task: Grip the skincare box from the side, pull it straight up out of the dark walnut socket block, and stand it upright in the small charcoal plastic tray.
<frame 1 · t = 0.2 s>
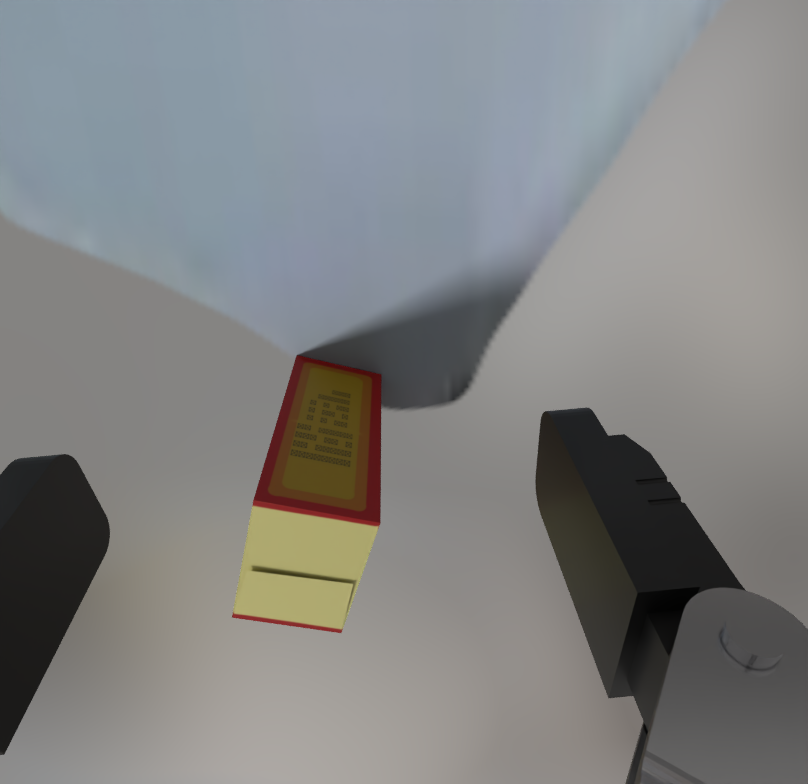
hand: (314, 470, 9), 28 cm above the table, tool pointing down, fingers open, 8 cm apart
baking soda box: (327, 413, 43), on the table
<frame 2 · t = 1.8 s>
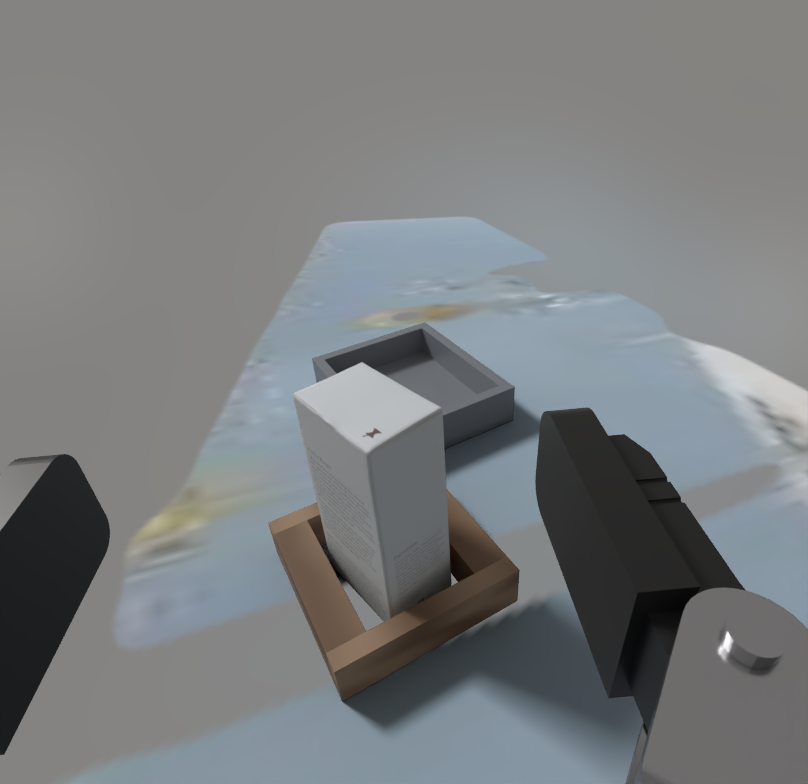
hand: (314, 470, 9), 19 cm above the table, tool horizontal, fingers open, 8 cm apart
tray: (409, 402, 44), on the table
skincare box: (389, 577, 30), resting in socket block
socket block: (389, 574, 30), on the table
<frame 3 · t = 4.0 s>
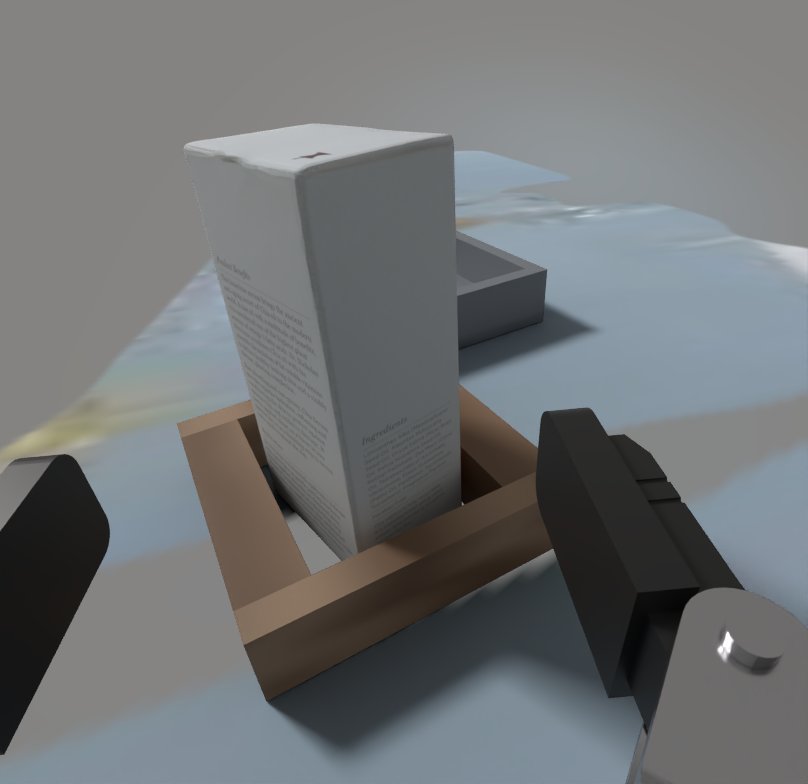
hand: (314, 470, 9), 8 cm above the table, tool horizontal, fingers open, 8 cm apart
tray: (402, 306, 33), on the table
skincare box: (364, 508, 19), resting in socket block
socket block: (363, 503, 19), on the table
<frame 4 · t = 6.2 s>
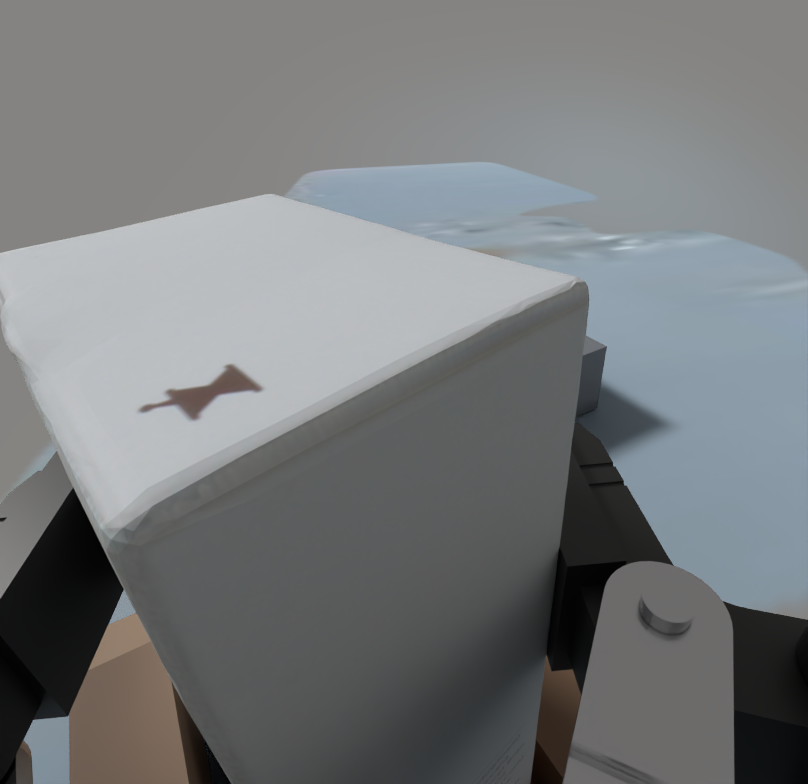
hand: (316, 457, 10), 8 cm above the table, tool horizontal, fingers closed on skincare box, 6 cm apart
tray: (410, 380, 26), on the table
skincare box: (363, 783, 12), resting in socket block, touching gripper
socket block: (362, 779, 12), on the table
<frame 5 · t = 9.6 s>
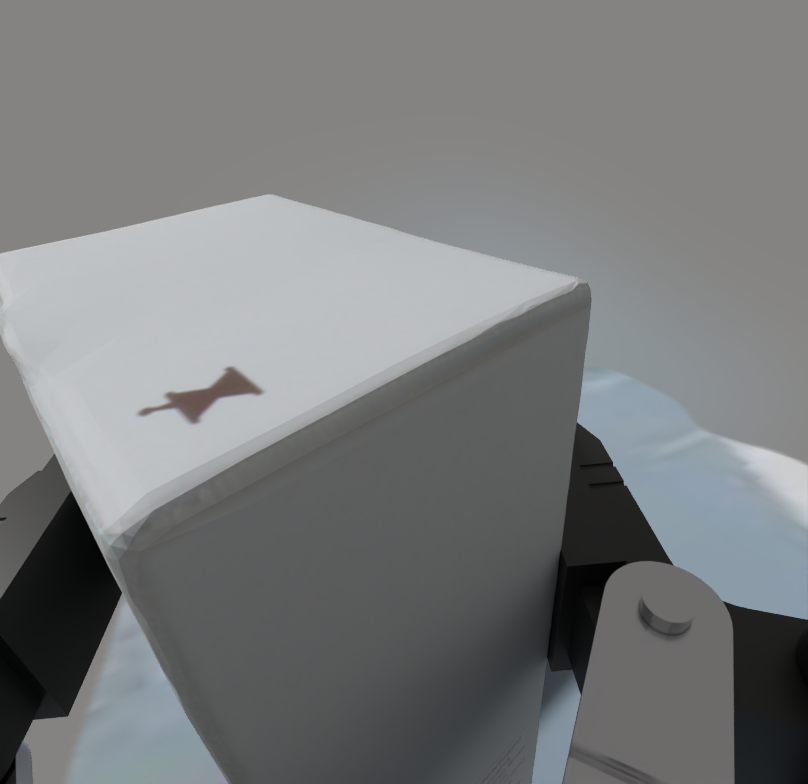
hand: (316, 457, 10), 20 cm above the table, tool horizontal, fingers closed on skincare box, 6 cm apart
when the fingers open (9 cm above the table, at t = 13.0 s): skincare box drops 1 cm, resting on tray.
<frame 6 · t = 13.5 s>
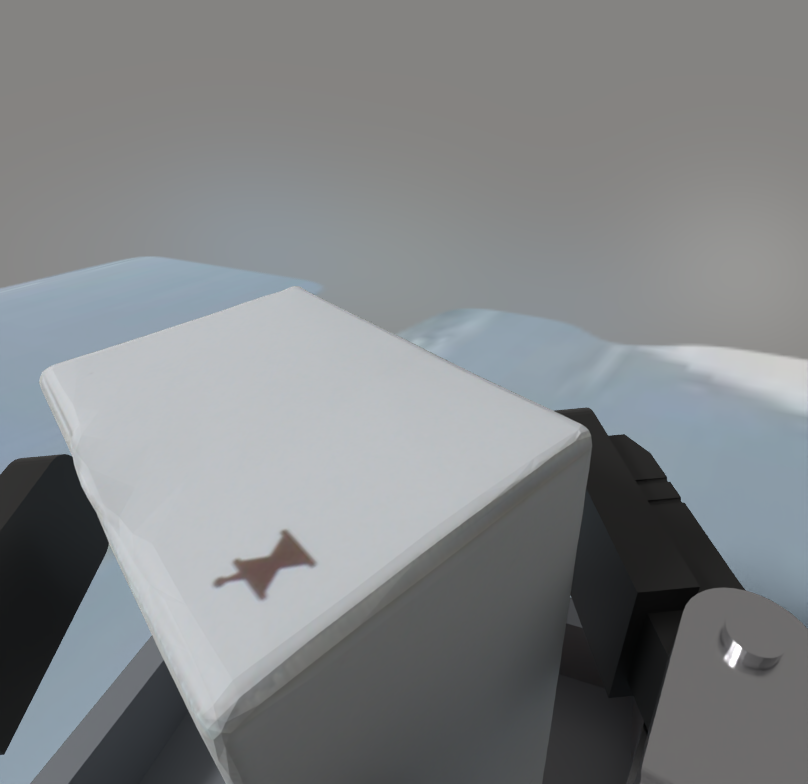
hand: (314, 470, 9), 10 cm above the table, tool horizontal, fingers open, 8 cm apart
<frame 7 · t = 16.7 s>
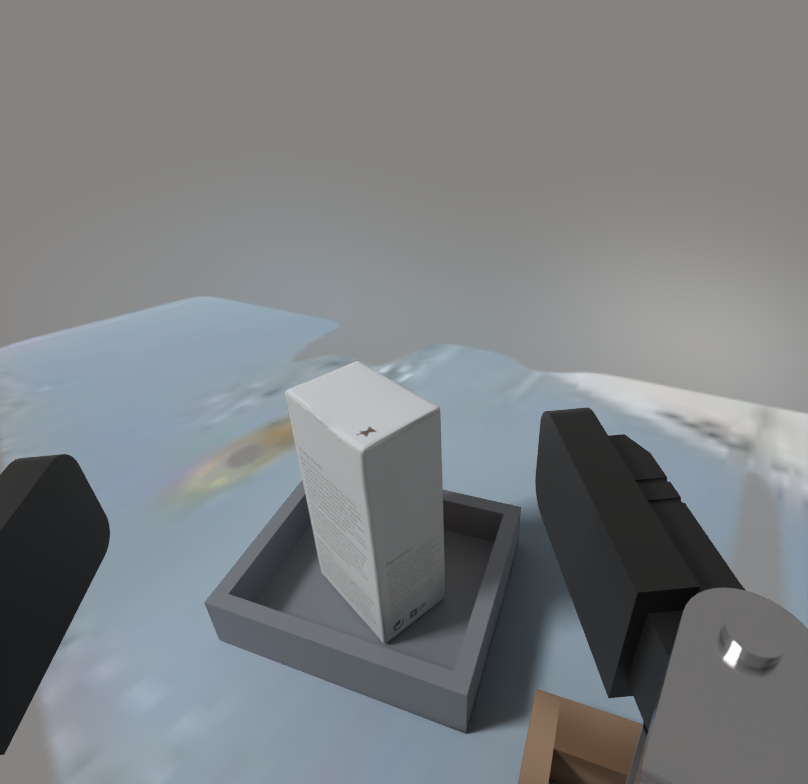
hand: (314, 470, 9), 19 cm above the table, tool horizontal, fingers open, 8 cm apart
tray: (379, 588, 29), on the table
skincare box: (381, 586, 29), resting on tray
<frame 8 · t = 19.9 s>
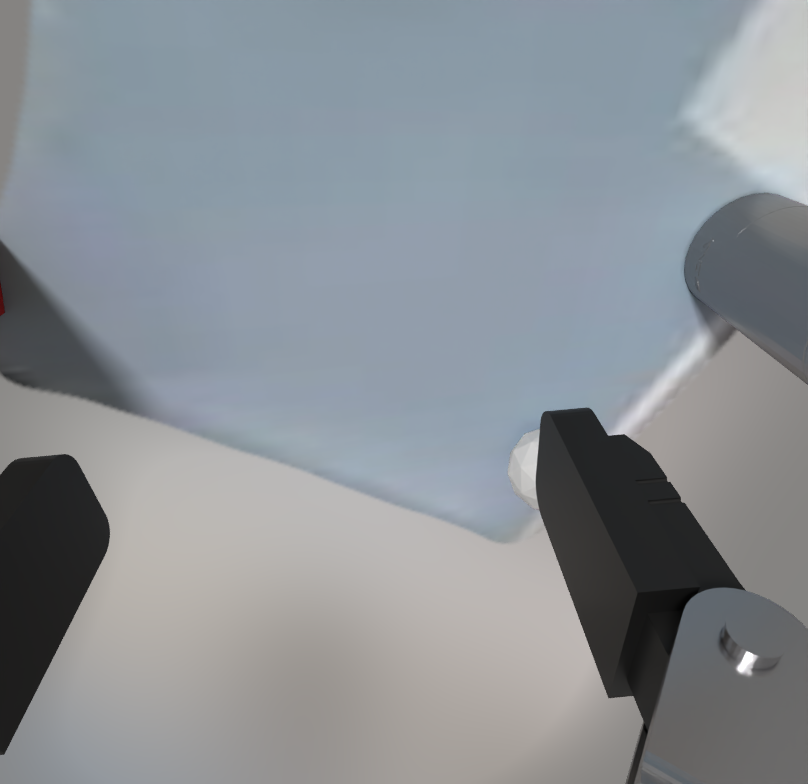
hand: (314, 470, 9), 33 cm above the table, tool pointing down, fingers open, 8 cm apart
geometric ball: (539, 442, 53), on the table
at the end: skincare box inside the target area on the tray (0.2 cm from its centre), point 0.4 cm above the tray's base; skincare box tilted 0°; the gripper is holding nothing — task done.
